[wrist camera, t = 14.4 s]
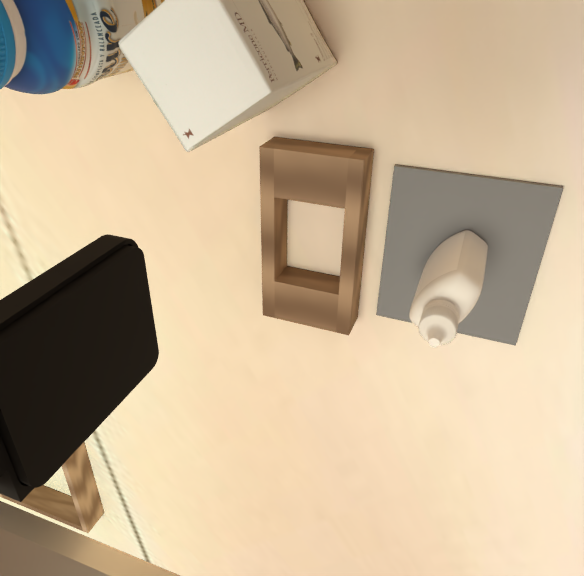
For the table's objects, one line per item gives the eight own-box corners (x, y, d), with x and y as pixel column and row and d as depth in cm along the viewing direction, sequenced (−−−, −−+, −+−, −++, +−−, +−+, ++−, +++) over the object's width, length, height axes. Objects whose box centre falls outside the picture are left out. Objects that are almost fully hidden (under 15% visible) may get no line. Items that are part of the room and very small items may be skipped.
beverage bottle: (145, -83, 38) (-127, -120, 22) (215, 19, 40) (11, 53, 24) (86, -3, 43) (-172, 14, 27) (152, 86, 45) (-54, 151, 29)
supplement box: (341, 63, 38) (275, 97, 28) (264, 112, 42) (183, 157, 32) (290, -36, 36) (199, -38, 26) (215, 25, 40) (112, 44, 30)
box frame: (-19, 390, 82) (-42, 407, 79) (78, 423, 76) (59, 443, 73) (16, 477, 93) (-2, 495, 90) (104, 512, 87) (88, 533, 84)
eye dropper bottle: (412, 244, 43) (379, 323, 33) (481, 223, 40) (467, 303, 30) (431, 288, 44) (404, 376, 35) (498, 272, 41) (490, 363, 32)
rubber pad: (395, 164, 41) (394, 166, 40) (563, 186, 37) (563, 188, 37) (377, 312, 48) (376, 315, 48) (515, 342, 44) (515, 345, 44)
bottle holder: (274, 136, 43) (259, 146, 41) (373, 149, 41) (364, 160, 38) (275, 299, 51) (262, 315, 49) (357, 317, 49) (348, 335, 47)
